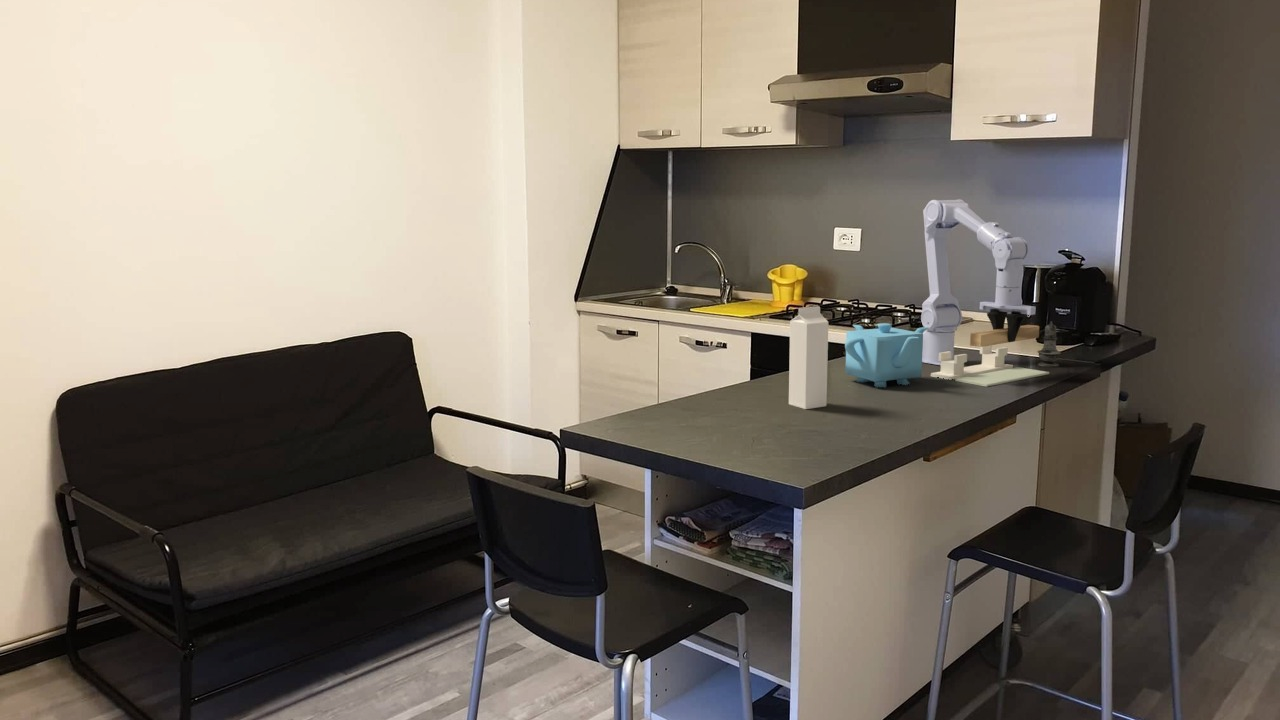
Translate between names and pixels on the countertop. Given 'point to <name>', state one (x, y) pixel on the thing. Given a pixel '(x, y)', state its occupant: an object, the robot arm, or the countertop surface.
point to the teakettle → (884, 354)
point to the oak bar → (1002, 336)
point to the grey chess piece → (1049, 347)
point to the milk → (808, 359)
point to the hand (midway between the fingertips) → (1005, 340)
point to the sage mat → (1001, 376)
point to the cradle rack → (957, 369)
